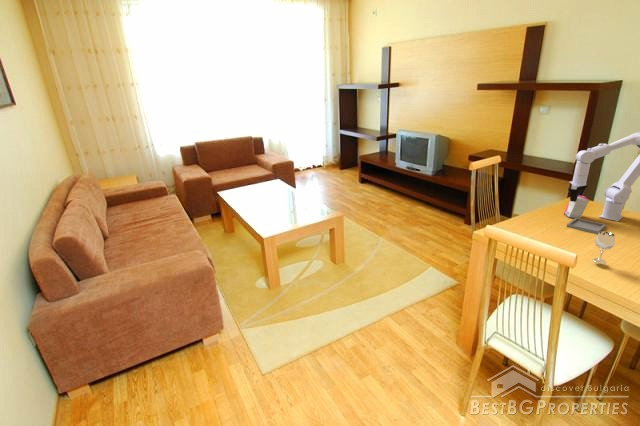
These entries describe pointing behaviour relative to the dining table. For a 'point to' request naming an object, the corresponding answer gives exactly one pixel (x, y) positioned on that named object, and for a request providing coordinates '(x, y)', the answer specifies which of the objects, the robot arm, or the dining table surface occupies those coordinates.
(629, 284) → the dining table surface
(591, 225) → the tray
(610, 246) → the wineglass
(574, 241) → the dining table surface
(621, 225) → the dining table surface
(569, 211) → the supplement box
